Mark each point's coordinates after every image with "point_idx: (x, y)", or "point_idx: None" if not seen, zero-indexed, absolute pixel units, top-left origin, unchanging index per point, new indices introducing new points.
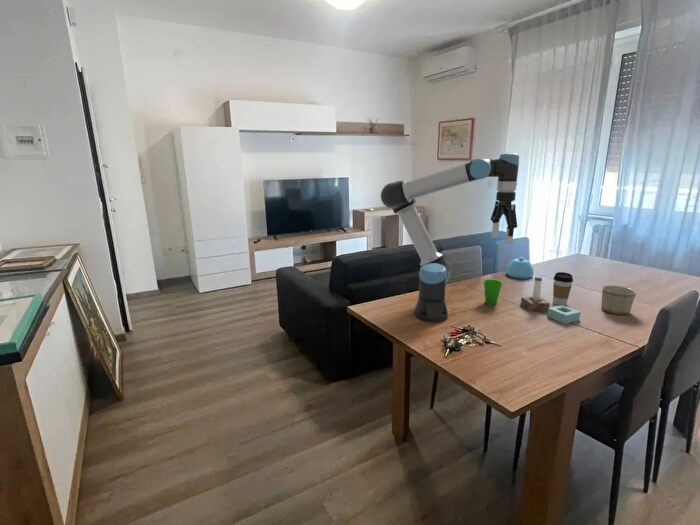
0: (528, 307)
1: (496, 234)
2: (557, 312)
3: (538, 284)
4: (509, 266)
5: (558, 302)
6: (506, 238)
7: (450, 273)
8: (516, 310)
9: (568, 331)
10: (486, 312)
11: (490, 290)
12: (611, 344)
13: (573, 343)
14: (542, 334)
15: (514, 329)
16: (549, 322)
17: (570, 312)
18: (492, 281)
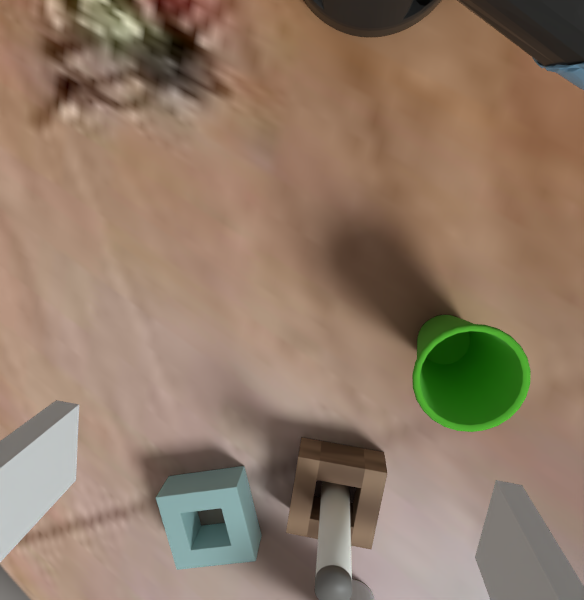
0: (318, 446)
1: (494, 565)
2: (194, 491)
3: (318, 557)
4: None
5: None
6: (9, 436)
7: (537, 44)
8: (327, 392)
9: (110, 441)
10: (340, 251)
11: (431, 335)
12: None
13: (27, 389)
14: (101, 338)
15: (155, 264)
16: (190, 433)
17: (178, 531)
18: (508, 399)
